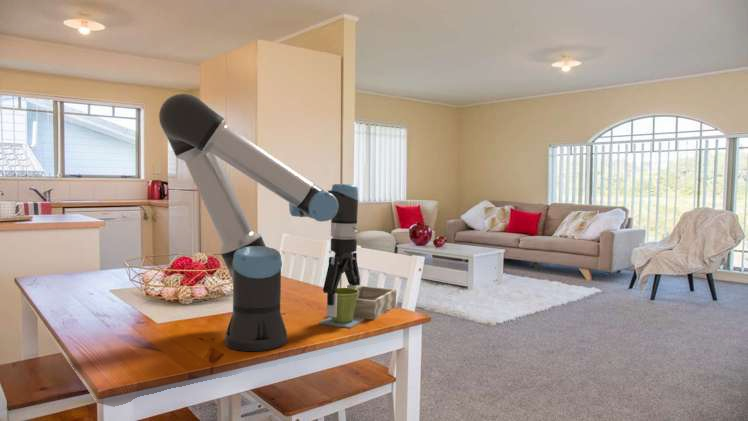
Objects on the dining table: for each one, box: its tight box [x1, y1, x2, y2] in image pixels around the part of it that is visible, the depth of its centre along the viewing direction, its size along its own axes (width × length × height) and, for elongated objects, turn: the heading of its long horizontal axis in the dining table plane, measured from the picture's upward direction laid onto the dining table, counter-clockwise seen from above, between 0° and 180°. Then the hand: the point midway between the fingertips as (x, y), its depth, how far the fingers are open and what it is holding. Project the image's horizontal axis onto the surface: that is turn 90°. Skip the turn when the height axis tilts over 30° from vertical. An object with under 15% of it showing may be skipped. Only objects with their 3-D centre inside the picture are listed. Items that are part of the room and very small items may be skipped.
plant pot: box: [332, 287, 359, 323], centre depth 153 cm, size 9×9×9 cm
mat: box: [318, 316, 366, 329], centre depth 153 cm, size 10×10×1 cm
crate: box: [353, 285, 397, 320], centre depth 167 cm, size 19×13×6 cm
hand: (341, 311), depth 153 cm, fingers open, 12 cm apart
